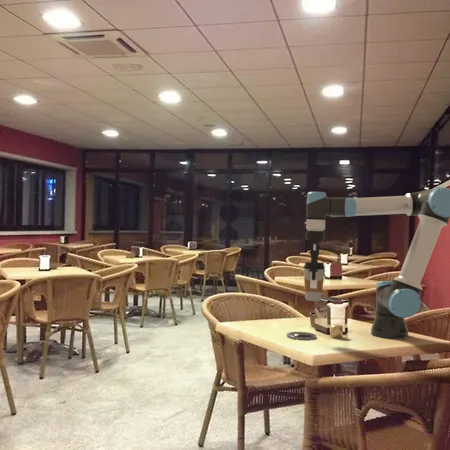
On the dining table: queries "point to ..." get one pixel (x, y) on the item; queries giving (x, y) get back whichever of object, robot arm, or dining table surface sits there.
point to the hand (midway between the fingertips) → (313, 286)
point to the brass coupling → (336, 331)
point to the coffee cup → (314, 293)
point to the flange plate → (301, 335)
